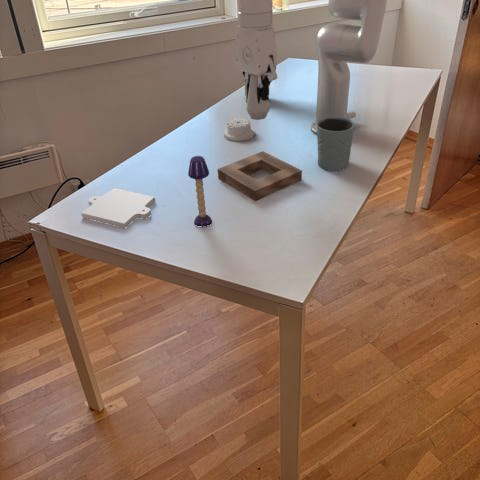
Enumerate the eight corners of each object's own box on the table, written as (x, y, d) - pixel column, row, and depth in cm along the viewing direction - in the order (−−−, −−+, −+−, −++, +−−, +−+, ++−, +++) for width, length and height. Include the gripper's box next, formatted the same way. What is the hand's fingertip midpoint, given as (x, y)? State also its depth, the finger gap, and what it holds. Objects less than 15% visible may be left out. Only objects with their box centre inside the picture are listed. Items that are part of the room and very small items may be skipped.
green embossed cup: (328, 175, 130) (331, 134, 122) (307, 161, 137) (309, 121, 130) (358, 166, 133) (362, 125, 126) (336, 153, 140) (339, 113, 133)
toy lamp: (194, 217, 116) (186, 154, 106) (213, 215, 116) (207, 152, 106) (194, 228, 112) (186, 164, 102) (214, 226, 112) (208, 162, 103)
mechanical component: (220, 141, 152) (251, 142, 150) (219, 128, 149) (251, 129, 147) (227, 128, 160) (256, 129, 158) (226, 115, 157) (256, 116, 155)
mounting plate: (164, 205, 122) (163, 198, 121) (134, 232, 113) (133, 225, 112) (107, 192, 129) (105, 186, 128) (75, 217, 119) (73, 210, 118)
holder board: (263, 160, 139) (262, 151, 137) (301, 180, 128) (301, 170, 126) (218, 178, 131) (217, 169, 129) (255, 201, 121) (255, 191, 119)
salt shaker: (272, 113, 121) (272, 60, 113) (266, 122, 116) (265, 67, 109) (250, 111, 122) (248, 59, 115) (243, 120, 118) (240, 66, 110)
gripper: (220, 17, 110) (225, 96, 120) (266, 28, 99) (268, 113, 110) (245, 12, 113) (249, 89, 124) (293, 21, 102) (292, 105, 113)
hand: (257, 100), depth 117 cm, fingers closed on salt shaker, 3 cm apart
